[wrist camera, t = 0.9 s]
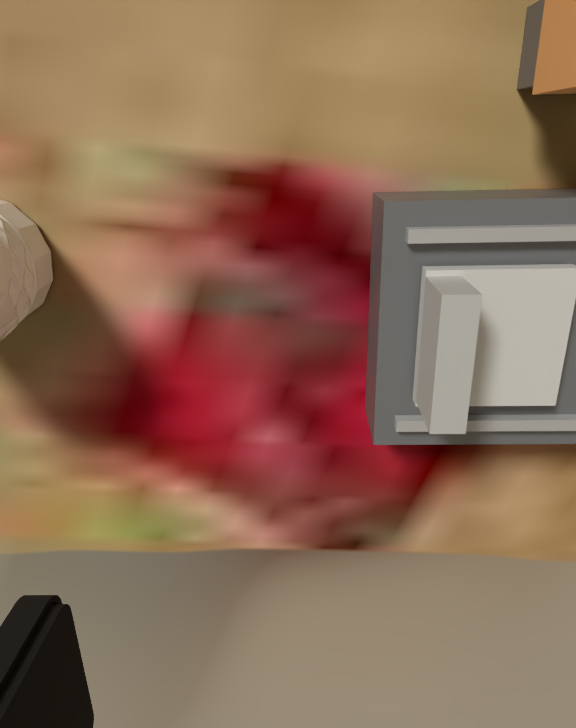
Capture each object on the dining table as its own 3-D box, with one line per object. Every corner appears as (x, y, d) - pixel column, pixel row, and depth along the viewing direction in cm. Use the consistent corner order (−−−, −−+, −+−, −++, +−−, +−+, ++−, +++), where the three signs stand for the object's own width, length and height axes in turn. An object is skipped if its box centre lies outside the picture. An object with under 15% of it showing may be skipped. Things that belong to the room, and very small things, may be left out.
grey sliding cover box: (373, 192, 27) (386, 202, 22) (705, 185, 26) (782, 195, 22) (365, 408, 31) (374, 451, 27) (647, 406, 31) (702, 449, 27)
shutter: (422, 266, 24) (442, 288, 20) (572, 264, 24) (619, 286, 20) (412, 398, 26) (429, 439, 23) (548, 398, 26) (586, 438, 23)
